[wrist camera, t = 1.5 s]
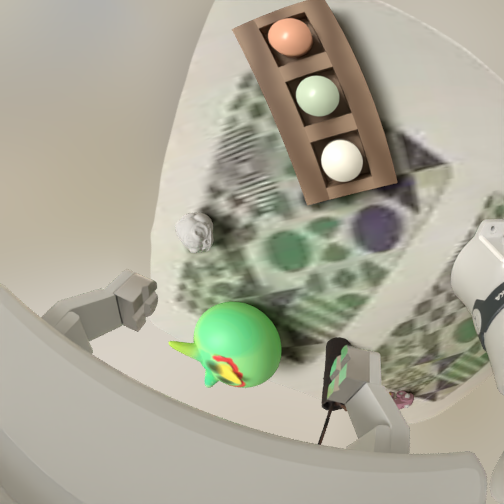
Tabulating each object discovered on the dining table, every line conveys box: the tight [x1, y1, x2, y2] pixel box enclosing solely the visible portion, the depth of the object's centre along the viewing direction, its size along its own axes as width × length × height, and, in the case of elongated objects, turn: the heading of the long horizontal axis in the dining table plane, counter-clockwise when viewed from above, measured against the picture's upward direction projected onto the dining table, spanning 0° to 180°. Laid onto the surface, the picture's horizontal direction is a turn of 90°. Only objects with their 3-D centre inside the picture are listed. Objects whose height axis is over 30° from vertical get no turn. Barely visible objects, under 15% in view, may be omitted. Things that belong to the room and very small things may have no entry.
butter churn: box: [318, 338, 351, 445], centre depth 39 cm, size 9×10×28 cm
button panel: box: [232, 0, 398, 205], centre depth 29 cm, size 12×25×4 cm, turn 23°
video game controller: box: [389, 391, 414, 409], centre depth 52 cm, size 10×5×7 cm, turn 109°
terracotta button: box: [268, 18, 313, 58], centre depth 24 cm, size 5×5×2 cm
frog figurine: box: [175, 212, 214, 253], centre depth 43 cm, size 6×7×7 cm
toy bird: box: [169, 302, 281, 388], centre depth 48 cm, size 18×17×15 cm
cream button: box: [321, 139, 363, 182], centre depth 30 cm, size 5×5×2 cm
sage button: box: [296, 76, 339, 116], centre depth 27 cm, size 5×5×2 cm
